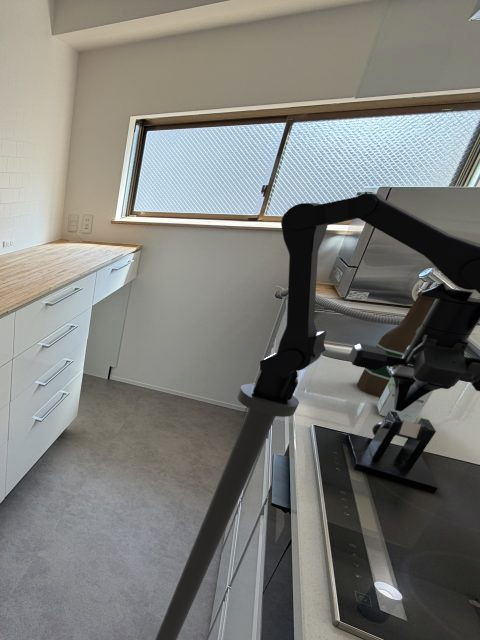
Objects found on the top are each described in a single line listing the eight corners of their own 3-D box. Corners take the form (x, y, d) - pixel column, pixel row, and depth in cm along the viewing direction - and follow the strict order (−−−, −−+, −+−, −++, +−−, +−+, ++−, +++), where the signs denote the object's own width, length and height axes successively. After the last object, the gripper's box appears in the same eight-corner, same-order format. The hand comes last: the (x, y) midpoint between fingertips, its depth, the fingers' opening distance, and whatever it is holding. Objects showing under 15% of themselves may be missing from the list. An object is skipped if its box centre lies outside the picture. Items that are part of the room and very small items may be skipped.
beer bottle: (355, 380, 103) (404, 285, 93) (396, 390, 99) (454, 292, 88) (356, 391, 98) (409, 291, 87) (400, 402, 94) (461, 298, 83)
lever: (367, 436, 79) (372, 420, 79) (389, 442, 78) (394, 426, 77) (393, 435, 69) (400, 417, 69) (419, 441, 67) (426, 423, 67)
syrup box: (414, 424, 85) (454, 360, 78) (376, 414, 88) (412, 352, 81) (409, 413, 89) (447, 351, 82) (374, 404, 92) (407, 344, 85)
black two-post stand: (345, 437, 79) (366, 397, 75) (415, 457, 74) (442, 415, 70) (353, 469, 70) (378, 425, 66) (434, 493, 65) (466, 448, 61)
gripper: (380, 328, 66) (337, 411, 73) (556, 357, 57) (488, 449, 64) (369, 313, 75) (331, 389, 82) (521, 336, 66) (464, 419, 73)
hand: (397, 410), depth 75 cm, fingers closed
